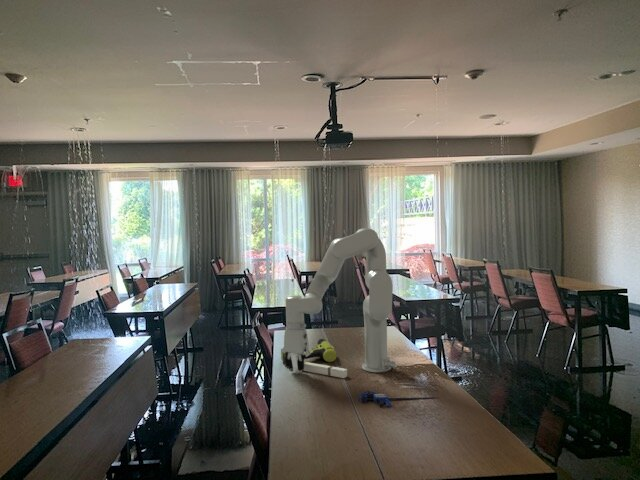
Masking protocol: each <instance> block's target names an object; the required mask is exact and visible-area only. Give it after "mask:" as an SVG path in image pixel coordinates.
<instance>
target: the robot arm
mask: <svg viewBox="0 0 640 480" xmlns="http://www.w3.org/2000/svg"><path fill="white" fill-rule="evenodd" d="M362 253H365V254H364V255H365V261H366V262H365V277H364V278H365V281H364V282H365V285H366V287H367V289H368V290H369V291H368V295H367V296H366V297H365V298H364V300H363V303H362V313H363V321H364V322H363V323H364V362H363V363H362V364H361V369H362V370H364V371H365V372H368V373H385V372H389V371H390V370H391V369H392V368H397V363H396V361H394V360H391V358H390V356H388V324H387V319H388V318H389V317H390V315H391V314H392V311H393V310H392V309H393V289H394V287H393V286H394V285H393V280H392V277H391V275H390V274H389V273H388V272H387V254H386V253H387V252H386V249H385V245H384V244H383V242H382V240H381V239H380V238H379V235H378V232H376V231H375V230H374V229H372V228H368V227H367V228H366V227H363V228H360V229H357V230H356V232H355V233H353V234H350V235H347V236H344V237H342V238H341V237H337V238H335V239H333V240H332V241H331V243H330V244H329V247H328V248H327V251H326V252H325V254H324V257H323V258H322V261H321V263H320V265H319V267H318V269H317V271H316V273H315V274H314V277H313V278H312V280H311V283H310V284H309V286H308V288H307V290H306V292H305V294H304V296H301V295H290V296H289V295H288V296H287V297H286V298H285V321H286V323H285V324H286V326H285V327H286V328H285V330H284V336H283V337H284V338H283V339H284V340H283V347H282V348H281V349H282V351H283V352H284V353H285V354H286V356H287V357H288V359H289V367H288V368H289V370H293V369H292V368H293V367H292V361H291V357H290V353H296V354H298V356H299V361H298V370H299V371H301V372H302V370H303V369H304V361H305V360H306V359H305V358H306V357H307V356H309V355H310V354H311V353H310V351H311V350H310V344H309V343H310V342H309V336H308V331H307V329H306V327H307V324H306V323H305V314H308V315H316V314H319V313H320V312H321V311H322V309H323V301H322V299H323V297H324V295H325V293H326V291H327V289H328V287H330V285H331V284H333V283H334V281H336V279H337V277H338V276H339V273H340V271H341V269H342V267H343V265H344V263H345V261H346V260H347V259H350V258H353V257H355V256H358V255H360V254H362ZM304 352H306V354H304Z"/></svg>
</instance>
